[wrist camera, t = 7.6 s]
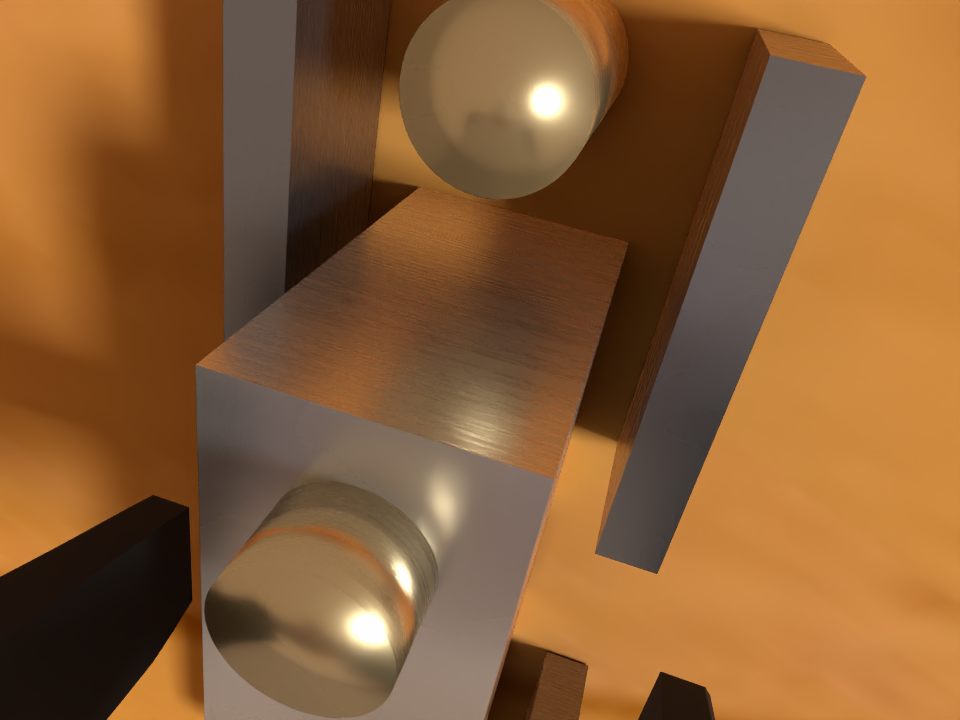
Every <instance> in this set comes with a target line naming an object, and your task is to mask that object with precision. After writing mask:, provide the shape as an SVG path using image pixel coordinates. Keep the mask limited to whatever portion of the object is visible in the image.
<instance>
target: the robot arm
mask: <svg viewBox="0 0 960 720" xmlns="http://www.w3.org/2000/svg"><path fill="white" fill-rule="evenodd" d="M191 602H192V580H191V552H190V524H189V507H186V506H183V505H180V504H177V503H174V502H172V501H169V500H166V499H163V498H160V497H157V496H154V495H152V496H151V497H149V498H147V499H145V500H143V501H141V502H139V503H137V504H135V505H133V506H132V507H130V508H128V509H126V510H124V511H122V512H120V513H119V514H117V515H115V516H113V517H111V518H109V519H107V520H106V521H104V522H102V523H100V524H98V525H96V526H95V527H93V528H91V529H89V530H87V531H86V532H84V533H82V534H80V535H78V536H76V537H75V538H73V539H71V540H69V541H67V542H65V543H63V544H62V545H60V546H58V547H56V548H54V549H52V550H51V551H49V552H47V553H45V554H43V555H41V556H39V557H37V558H35V559H33V560H31V561H30V562H28V563H26V564H24V565H22V566H20V567H18V568H16V569H14V570H12V571H10V572H9V573H7V574H5V575H3V576H1V577H0V720H107V718H108V717H109V716H110V715H111V714H112V712H113V711H114V710H115V709H116V707H117V706H118V705H119V704H120V703H121V701H122V700H123V699H124V698H125V696H126V695H127V694H128V693H129V691H130V690H131V689H132V688H133V686H134V685H135V684H136V683H137V681H138V680H139V679H140V678H141V676H142V675H143V674H144V673H145V671H146V670H147V669H148V668H149V666H150V665H151V664H152V662H153V661H154V660H155V658H156V657H157V655H158V654H159V652H160V651H161V649H162V648H163V646H164V644H165V643H166V641H167V640H168V638H169V637H170V635H171V634H172V632H173V631H174V629H175V627H176V626H177V624H178V623H179V621H180V619H181V618H182V616H183V614H184V613H185V611H186V610H187V608H188V606H189V605H190V603H191ZM638 720H715V717H714V712H713V708H712V703H711V697H710V694H709V693H708V691H707V690H706V688H705V687H703V686H700V685H697V684H695V683H692V682H689V681H686V680H683V679H680V678H677V677H674V676H672V675H669V674H666V673H663V672H660V674H659V676H658V678H657V680H656V683H655V685H654V687H653V689H652V691H651V693H650V695H649V697H648V700H647V702H646V704H645V706H644V708H643V710H642V712H641V715H640V717H639V719H638Z"/></svg>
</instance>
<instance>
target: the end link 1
mask: <svg viewBox="0 0 960 720" xmlns="http://www.w3.org/2000/svg"><path fill="white" fill-rule="evenodd" d="M390 1H391V0H223V177H224V342H225V341H226V340H227V339H228V338H230V337H231V336H232V335H234V334H235V333H236V332H237V331H239V330H240V329H241V328H242V327H244V326H245V325H246V324H247V323H249V322H250V321H251V320H252V319H254V318H255V317H256V316H258V315H259V314H260V313H261V312H263V311H264V310H265V309H266V308H268V307H269V306H270V305H271V304H273V303H274V302H275V301H276V300H278V299H279V298H280V297H281V296H283V295H284V294H285V293H287V292H288V291H289V290H290V289H292V288H293V287H294V286H295V285H297V284H298V283H299V282H300V281H302V280H303V279H304V278H305V277H307V276H308V275H309V274H311V273H312V272H313V271H314V270H316V269H317V268H318V267H319V266H321V265H322V264H323V263H324V262H326V261H327V260H328V259H329V258H331V257H332V256H333V255H335V254H336V253H337V252H338V251H340V250H341V249H342V248H343V247H345V246H346V245H347V244H348V243H350V242H351V241H352V240H353V239H355V238H356V237H357V236H358V235H360V234H361V233H362V232H364V231H365V230H366V229H367V226H368V217H369V207H370V197H371V187H372V177H373V167H374V158H375V148H376V138H377V128H378V118H379V109H380V99H381V89H382V79H383V69H384V60H385V50H386V40H387V30H388V20H389V11H390ZM628 65H629V43H628V37H627V33H626V29H625V26H624V23H623V21H622V19H621V17H620V15H619V13H618V11H617V10H616V8H615V7H614V5H613V4H612V3H611V2H610V0H449V1H447V2H445V3H444V4H443V5H441V6H440V7H438V8H437V9H436V10H435V11H434V12H432V13H431V14H430V15H429V16H428V17H427V18H426V19H425V21H424V22H423V23H422V24H421V25H420V27H419V28H418V29H417V31H416V33H415V34H414V36H413V38H412V39H411V41H410V44H409V46H408V48H407V50H406V53H405V56H404V60H403V63H402V67H401V73H400V82H399V99H400V108H401V113H402V118H403V122H404V125H405V128H406V131H407V133H408V136H409V138H410V140H411V142H412V144H413V146H414V148H415V149H416V151H417V153H418V154H419V155H420V157H421V158H422V159H423V161H424V162H425V163H426V165H427V166H428V167H429V168H430V169H431V170H432V171H433V172H434V173H435V174H436V175H438V176H439V177H440V178H441V179H442V180H444V181H445V182H447V183H448V184H450V185H451V186H453V187H455V188H457V189H459V190H461V191H463V192H465V193H468V194H471V195H474V196H477V197H482V198H487V199H513V198H518V197H523V196H526V195H529V194H532V193H535V192H537V191H539V190H541V189H543V188H545V187H547V186H548V185H549V184H551V183H552V182H554V181H555V180H557V179H558V178H559V177H560V176H561V175H562V174H563V173H564V172H565V171H566V170H567V169H568V168H569V167H570V166H571V164H572V163H573V162H574V161H575V159H576V158H577V156H578V155H579V153H580V152H581V150H582V149H583V147H584V146H585V144H586V143H587V141H588V140H589V138H590V137H591V136H592V134H593V133H594V131H595V130H596V128H597V127H598V125H599V124H600V122H601V121H602V119H603V118H604V116H605V115H606V113H607V112H608V110H609V109H610V107H611V106H612V104H613V103H614V101H615V100H616V98H617V97H618V95H619V93H620V91H621V89H622V87H623V84H624V81H625V78H626V75H627V70H628ZM865 78H866V76H865V75H864V74H863V73H862V72H861V71H860V70H858V69H857V68H856V67H855V66H854V65H853V64H852V63H850V62H849V61H848V60H847V59H846V58H845V57H844V56H842V55H841V54H840V53H839V52H838V51H837V50H836V49H834V48H833V47H832V46H831V45H830V44H827V43H823V42H818V41H813V40H809V39H804V38H800V37H795V36H790V35H786V34H781V33H777V32H772V31H768V30H763V29H757V32H756V35H755V38H754V41H753V44H752V47H751V50H750V52H749V55H748V58H747V61H746V64H745V67H744V70H743V73H742V76H741V79H740V82H739V85H738V88H737V91H736V94H735V97H734V100H733V103H732V106H731V109H730V112H729V115H728V118H727V121H726V123H725V126H724V129H723V132H722V135H721V138H720V141H719V144H718V147H717V150H716V153H715V156H714V159H713V162H712V165H711V168H710V171H709V174H708V177H707V180H706V183H705V186H704V189H703V192H702V195H701V197H700V200H699V203H698V206H697V209H696V212H695V215H694V218H693V221H692V224H691V227H690V230H689V233H688V236H687V239H686V242H685V245H684V248H683V251H682V254H681V257H680V260H679V263H678V266H677V268H676V271H675V274H674V277H673V280H672V283H671V286H670V289H669V292H668V295H667V298H666V301H665V304H664V307H663V310H662V313H661V316H660V319H659V322H658V325H657V328H656V331H655V334H654V337H653V339H652V342H651V345H650V348H649V351H648V354H647V357H646V360H645V363H644V366H643V369H642V372H641V375H640V378H639V381H638V384H637V387H636V390H635V393H634V396H633V399H632V402H631V405H630V408H629V411H628V413H627V416H626V419H625V422H624V425H623V428H622V431H621V434H620V437H619V440H618V443H617V448H616V453H615V458H614V462H613V467H612V472H611V477H610V482H609V487H608V492H607V497H606V502H605V507H604V512H603V516H602V521H601V526H600V531H599V536H598V541H597V546H596V551H595V554H598V555H601V556H604V557H607V558H610V559H613V560H616V561H619V562H622V563H625V564H628V565H631V566H634V567H637V568H640V569H643V570H647V571H650V572H653V573H656V574H657V573H658V571H659V569H660V566H661V564H662V561H663V559H664V557H665V554H666V552H667V550H668V547H669V545H670V542H671V540H672V538H673V535H674V533H675V531H676V528H677V526H678V523H679V521H680V519H681V516H682V514H683V512H684V509H685V507H686V504H687V502H688V500H689V497H690V495H691V492H692V490H693V488H694V485H695V483H696V481H697V478H698V476H699V473H700V471H701V469H702V466H703V464H704V462H705V459H706V457H707V454H708V452H709V450H710V447H711V445H712V442H713V440H714V438H715V435H716V433H717V431H718V428H719V426H720V423H721V421H722V419H723V416H724V414H725V412H726V409H727V407H728V404H729V402H730V400H731V397H732V395H733V393H734V390H735V388H736V385H737V383H738V381H739V378H740V376H741V373H742V371H743V369H744V366H745V364H746V362H747V359H748V357H749V354H750V352H751V350H752V347H753V345H754V343H755V340H756V338H757V335H758V333H759V331H760V328H761V326H762V323H763V321H764V319H765V316H766V314H767V312H768V309H769V307H770V304H771V302H772V300H773V297H774V295H775V293H776V290H777V288H778V285H779V283H780V281H781V278H782V276H783V274H784V271H785V269H786V266H787V264H788V262H789V259H790V257H791V254H792V252H793V250H794V247H795V245H796V243H797V240H798V238H799V235H800V233H801V231H802V228H803V226H804V224H805V221H806V219H807V216H808V214H809V212H810V209H811V207H812V204H813V202H814V200H815V197H816V195H817V193H818V190H819V188H820V185H821V183H822V181H823V178H824V176H825V174H826V171H827V169H828V166H829V164H830V162H831V159H832V157H833V154H834V152H835V150H836V147H837V145H838V143H839V140H840V138H841V135H842V133H843V131H844V128H845V126H846V124H847V121H848V119H849V116H850V114H851V112H852V109H853V107H854V105H855V102H856V100H857V97H858V95H859V93H860V90H861V88H862V85H863V83H864V81H865Z"/></svg>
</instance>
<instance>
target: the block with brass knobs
mask: <svg viewBox="0 0 960 720" xmlns="http://www.w3.org/2000/svg"><path fill="white" fill-rule="evenodd" d="M628 243H629V242H626V241H622V240H618V239H614V238H611V237H607V236H603V235H599V234H595V233H592V232H588V231H584V230H580V229H577V228H573V227H569V226H565V225H562V224H558V223H554V222H550V221H547V220H543V219H539V218H535V217H531V216H528V215H524V214H520V213H516V212H513V211H509V210H505V209H501V208H498V207H494V206H490V205H486V204H483V203H479V202H475V201H471V200H468V199H464V198H460V197H456V196H452V195H449V194H445V193H441V192H437V191H434V190H430V189H426V188H422V187H419V188H418V189H417V190H415V191H414V192H413V193H412V194H410V195H409V196H408V197H406V198H405V199H404V200H403V201H401V202H400V203H399V204H398V205H396V206H395V207H394V208H393V209H391V210H390V211H389V212H388V213H386V214H385V215H384V216H382V217H381V218H380V219H379V220H377V221H376V222H375V223H374V224H372V225H371V226H370V227H369V228H367V229H366V230H365V231H364V232H362V233H361V234H360V235H358V236H357V237H356V238H355V239H353V240H352V241H351V242H350V243H348V244H347V245H346V246H345V247H343V248H342V249H341V250H340V251H338V252H337V253H336V254H335V255H333V256H332V257H331V258H329V259H328V260H327V261H326V262H324V263H323V264H322V265H321V266H319V267H318V268H317V269H316V270H314V271H313V272H312V273H311V274H309V275H308V276H307V277H305V278H304V279H303V280H302V281H300V282H299V283H298V284H297V285H295V286H294V287H293V288H292V289H290V290H289V291H288V292H287V293H285V294H284V295H283V296H281V297H280V298H279V299H278V300H276V301H275V302H274V303H273V304H271V305H270V306H269V307H268V308H266V309H265V310H264V311H263V312H261V313H260V314H259V315H258V316H256V317H255V318H254V319H252V320H251V321H250V322H249V323H247V324H246V325H245V326H244V327H242V328H241V329H240V330H239V331H237V332H236V333H235V334H234V335H232V336H231V337H230V338H228V339H227V340H226V341H225V342H223V343H222V344H221V345H220V346H218V347H217V348H216V349H215V350H213V351H212V352H211V353H210V354H208V355H207V356H206V357H204V358H203V359H202V360H201V361H199V362H198V363H197V364H196V365H195V370H196V408H197V447H198V486H199V524H200V563H201V601H202V640H203V679H204V717H205V720H487V719H488V716H489V712H490V709H491V706H492V702H493V699H494V695H495V692H496V689H497V685H498V682H499V679H500V675H501V672H502V668H503V665H504V662H505V658H506V655H507V652H508V648H509V645H510V641H511V638H512V635H513V631H514V628H515V625H516V621H517V618H518V614H519V611H520V608H521V604H522V601H523V598H524V594H525V591H526V587H527V584H528V581H529V577H530V574H531V570H532V567H533V564H534V560H535V557H536V554H537V550H538V547H539V543H540V540H541V537H542V533H543V530H544V527H545V523H546V520H547V516H548V513H549V510H550V506H551V503H552V500H553V496H554V493H555V489H556V486H557V483H558V479H559V476H560V473H561V469H562V466H563V462H564V459H565V456H566V452H567V449H568V446H569V442H570V439H571V435H572V432H573V429H574V425H575V422H576V418H577V415H578V412H579V408H580V405H581V402H582V398H583V395H584V391H585V388H586V385H587V381H588V378H589V375H590V371H591V368H592V364H593V361H594V358H595V354H596V351H597V348H598V344H599V341H600V337H601V334H602V331H603V327H604V324H605V321H606V317H607V314H608V310H609V307H610V304H611V300H612V297H613V294H614V290H615V287H616V283H617V280H618V277H619V273H620V270H621V266H622V263H623V260H624V256H625V253H626V250H627V246H628Z"/></svg>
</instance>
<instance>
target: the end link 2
mask: <svg viewBox="0 0 960 720" xmlns="http://www.w3.org/2000/svg"><path fill="white" fill-rule="evenodd" d="M587 670H588V666H586V665H583V664H580V663H578V662H575V661H572V660H569V659H566V658H563V657H561V656H558V655H555V654H552V653H549V652H547V653H546V656H545V659H544V662H543V665H542V668H541V671H540V674H539V677H538V680H537V683H536V686H535V689H534V692H533V695H532V698H531V700H530V703H529V706H528V709H527V712H526V715H525V718H524V720H579V714H580V709H581V703H582V698H583V692H584V687H585V681H586V676H587Z"/></svg>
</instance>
